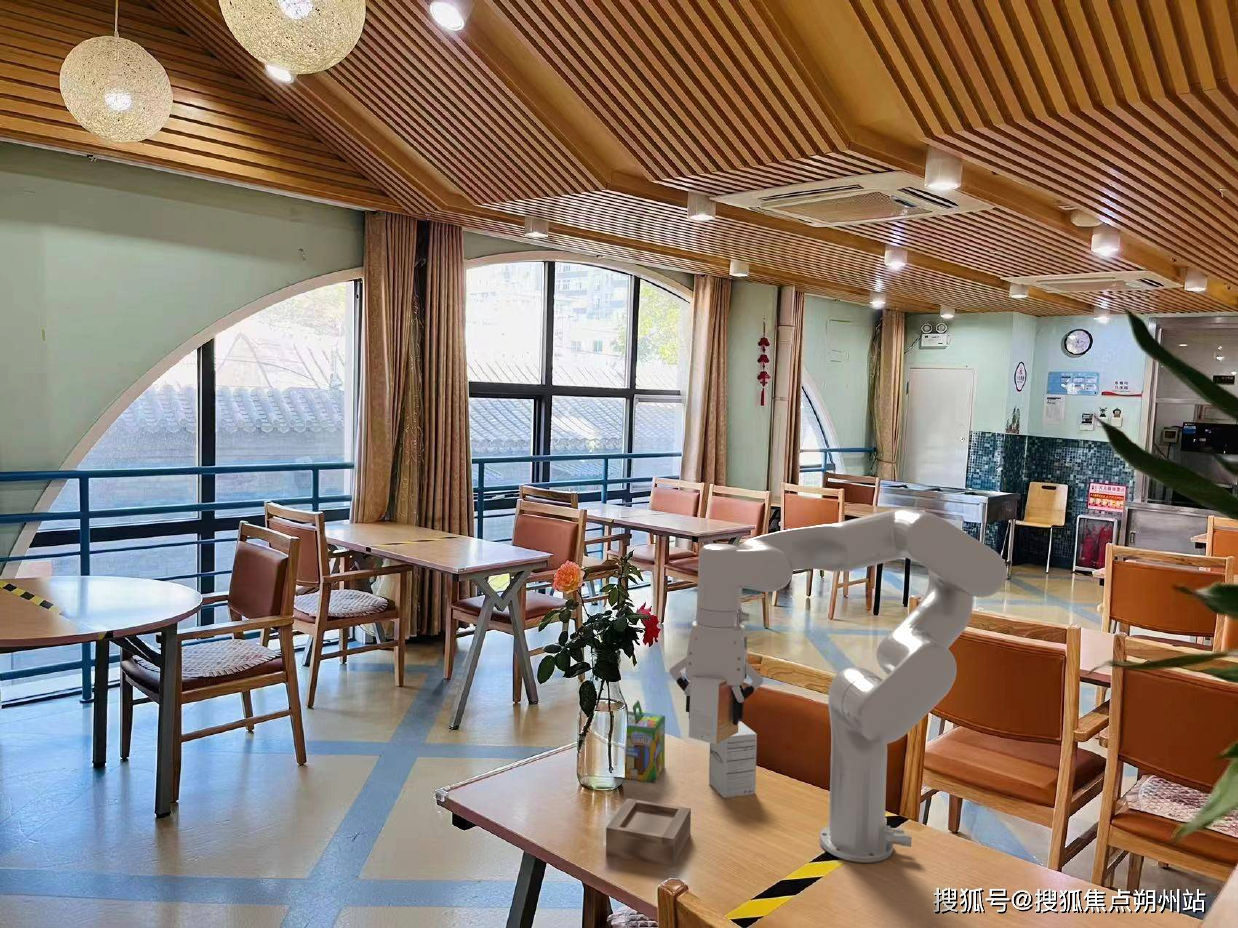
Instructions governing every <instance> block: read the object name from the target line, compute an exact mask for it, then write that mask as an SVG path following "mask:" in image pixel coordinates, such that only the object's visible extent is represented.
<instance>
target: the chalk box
mask: <svg viewBox="0 0 1238 928" xmlns="http://www.w3.org/2000/svg"><path fill="white" fill-rule="evenodd" d="M637 709H638V711H637ZM627 711H628V724H627V749H626V763H625V778H624V779H627V780H632V781H633V780H634V781H635V780H636V781H642V782H650V783H656V781H657V780H658V778H659V776H660V774H661V773H662V772H663V770H664V769H665V765H666V764H665V763H666V762H665V761H666V759H665V758H666V757H665V756H666V755H665V754H666V751H665V750H666V749H665V747H666V746H665V745H666V744H665V743H666V741H665V740H666V739H665V738H666V716H665V715H663V714H661V715H660V714H656V713H655V714H654V713H650V712H644V711H643V709H642V706H641V702H640V700H636V702H635V703H634V704H633V705H632V711H629V710H627Z"/></svg>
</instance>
